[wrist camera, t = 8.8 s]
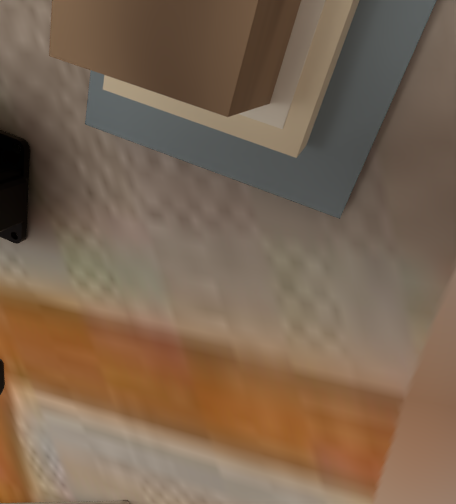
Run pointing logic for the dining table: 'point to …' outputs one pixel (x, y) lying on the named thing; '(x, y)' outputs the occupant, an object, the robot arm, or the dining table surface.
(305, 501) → the dining table surface
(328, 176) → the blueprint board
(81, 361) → the dining table surface
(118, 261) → the dining table surface
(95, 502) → the white square box
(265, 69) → the walnut block
